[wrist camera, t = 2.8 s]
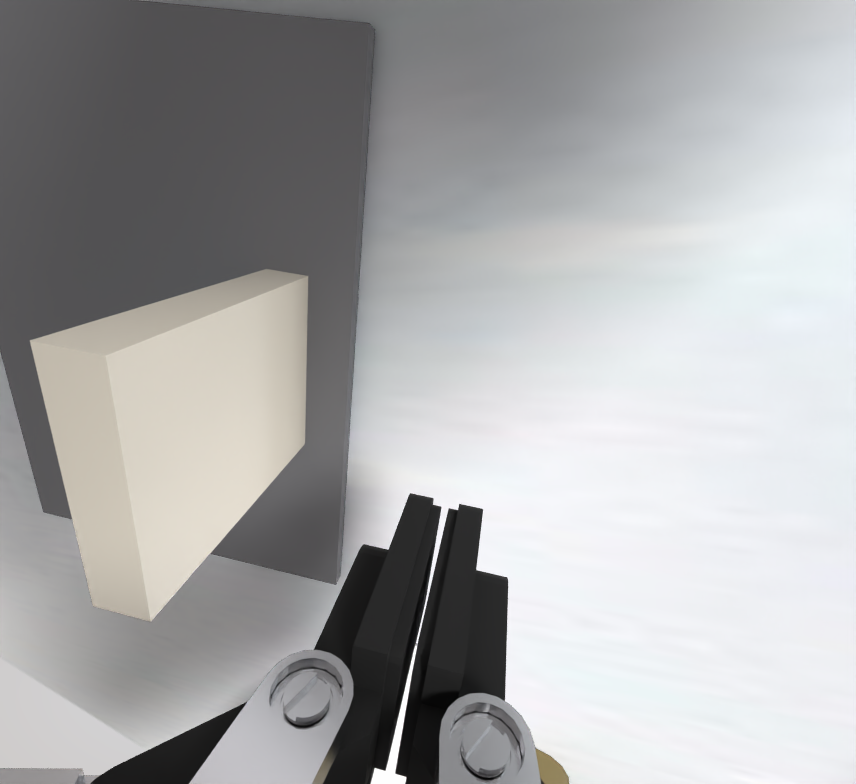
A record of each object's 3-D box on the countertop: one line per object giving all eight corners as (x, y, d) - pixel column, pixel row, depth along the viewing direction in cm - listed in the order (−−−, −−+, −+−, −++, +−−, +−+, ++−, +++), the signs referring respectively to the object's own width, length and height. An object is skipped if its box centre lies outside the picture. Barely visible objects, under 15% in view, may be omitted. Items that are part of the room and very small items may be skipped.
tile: (262, 268, 17) (22, 338, 9) (308, 275, 17) (105, 356, 9) (266, 435, 20) (87, 604, 12) (305, 443, 20) (150, 622, 12)
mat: (-79, -16, 16) (-100, -23, 15) (374, 30, 14) (368, 22, 13) (53, 505, 25) (43, 512, 24) (340, 575, 23) (335, 584, 23)
